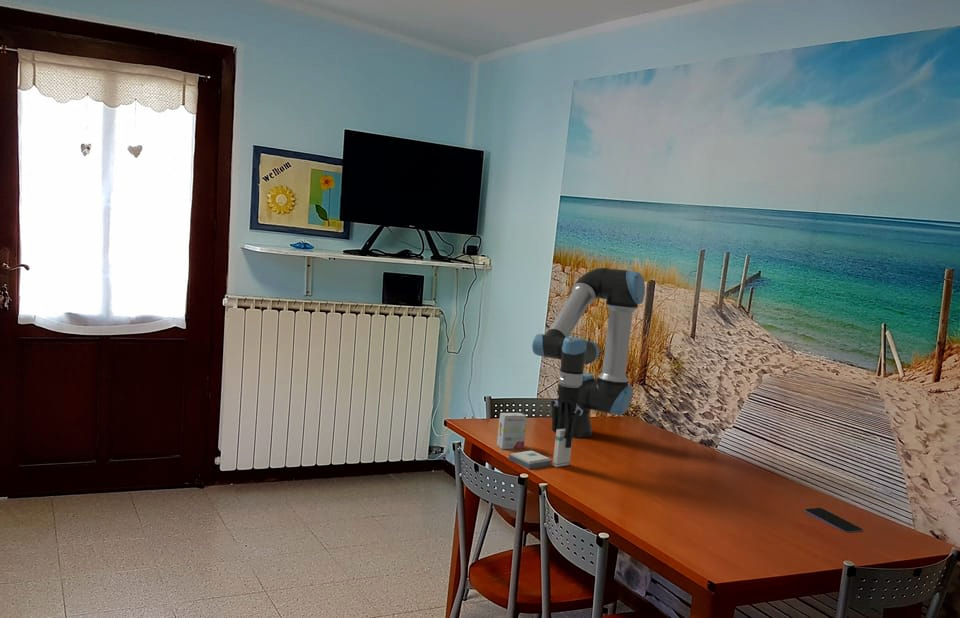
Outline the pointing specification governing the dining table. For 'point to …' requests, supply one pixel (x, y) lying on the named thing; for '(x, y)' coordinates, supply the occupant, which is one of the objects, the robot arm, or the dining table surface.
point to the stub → (560, 449)
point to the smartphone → (833, 520)
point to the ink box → (511, 430)
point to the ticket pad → (530, 459)
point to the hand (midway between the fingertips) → (562, 455)
